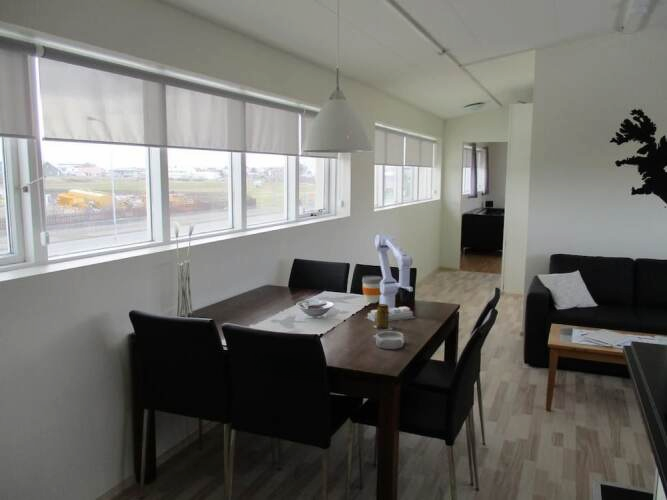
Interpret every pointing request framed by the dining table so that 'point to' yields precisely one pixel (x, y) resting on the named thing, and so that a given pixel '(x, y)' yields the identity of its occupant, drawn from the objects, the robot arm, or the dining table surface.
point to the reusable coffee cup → (371, 288)
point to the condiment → (382, 317)
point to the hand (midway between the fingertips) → (403, 301)
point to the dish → (389, 340)
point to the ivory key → (404, 309)
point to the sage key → (374, 312)
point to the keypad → (393, 316)
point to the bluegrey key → (395, 310)
